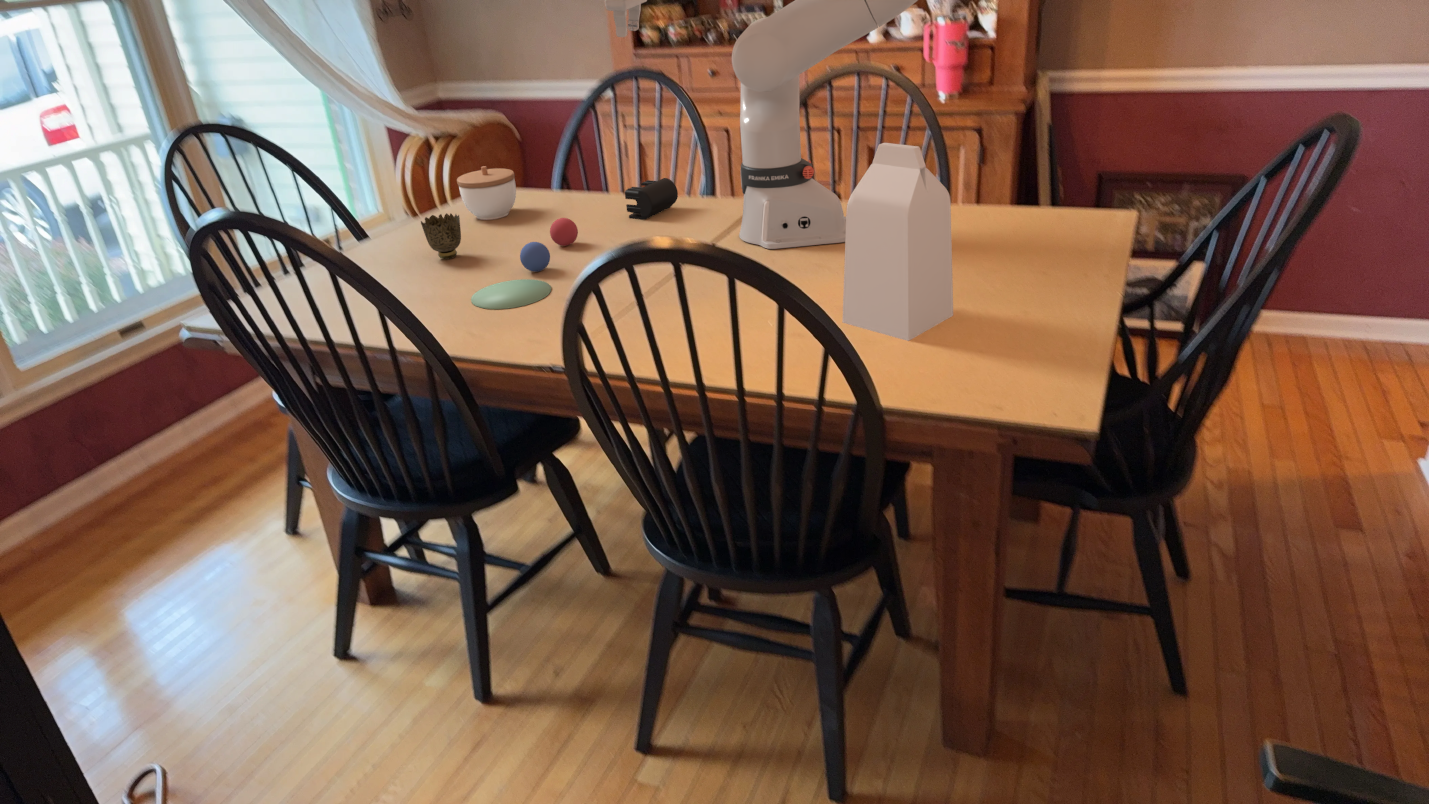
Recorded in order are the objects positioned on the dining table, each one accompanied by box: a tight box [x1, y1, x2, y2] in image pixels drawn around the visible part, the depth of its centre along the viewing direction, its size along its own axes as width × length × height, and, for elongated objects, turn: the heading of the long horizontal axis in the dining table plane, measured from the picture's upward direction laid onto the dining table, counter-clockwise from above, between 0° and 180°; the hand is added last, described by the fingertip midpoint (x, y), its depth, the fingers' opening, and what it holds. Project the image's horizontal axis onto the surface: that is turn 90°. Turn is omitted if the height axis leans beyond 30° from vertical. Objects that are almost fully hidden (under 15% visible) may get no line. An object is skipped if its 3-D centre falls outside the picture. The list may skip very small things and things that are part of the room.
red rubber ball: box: [549, 217, 579, 247], centre depth 190 cm, size 6×6×6 cm
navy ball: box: [519, 241, 551, 273], centre depth 177 cm, size 6×6×6 cm
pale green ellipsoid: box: [470, 278, 552, 310], centre depth 168 cm, size 14×14×1 cm
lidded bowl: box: [456, 165, 517, 221], centre depth 213 cm, size 13×13×11 cm
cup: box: [420, 213, 462, 260], centre depth 188 cm, size 8×7×8 cm
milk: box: [842, 142, 954, 342], centre depth 138 cm, size 12×12×26 cm
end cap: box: [624, 177, 679, 221], centre depth 205 cm, size 10×7×7 cm
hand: (627, 33), depth 173 cm, fingers open, 8 cm apart
